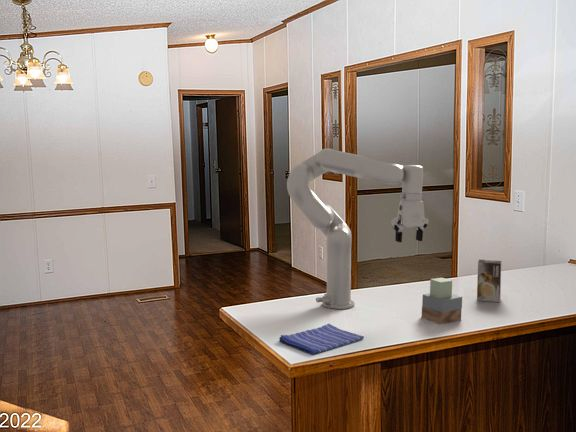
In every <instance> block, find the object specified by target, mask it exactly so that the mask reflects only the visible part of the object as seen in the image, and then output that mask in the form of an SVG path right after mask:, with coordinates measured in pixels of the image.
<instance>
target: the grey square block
mask: <svg viewBox="0 0 576 432" xmlns="http://www.w3.org/2000/svg"><path fill="white" fill-rule="evenodd" d="M421 303H422V305H421V307H422V306H423V307H426V308H429V309H432V310H435V311H438V312H441V313H444V312H449V311H454V310H459V309H461V310H462V309H463V296H461V295H458V294H454V293H452V297H446V298H437V297H434V296H431V295H430V292H429V293H423V294H422V302H421Z"/></svg>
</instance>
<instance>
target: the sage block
mask: <svg viewBox="0 0 576 432" xmlns="http://www.w3.org/2000/svg"><path fill="white" fill-rule="evenodd" d="M429 282H430V284H429V285H430V286H429V293H430V295H431V296H434V297H437V298H446V297H452V294H453V293H452V292H453V280H451V279H447V278H444V277H436V278H430V281H429Z"/></svg>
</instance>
